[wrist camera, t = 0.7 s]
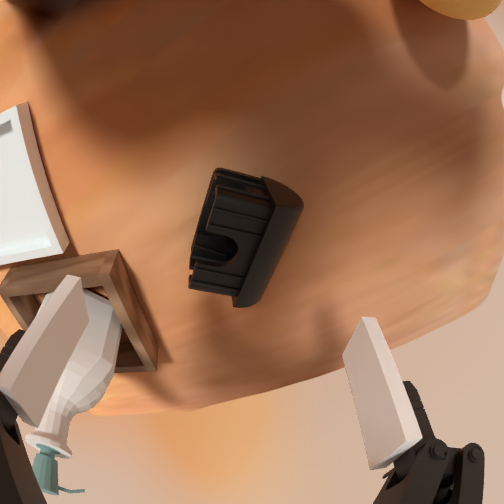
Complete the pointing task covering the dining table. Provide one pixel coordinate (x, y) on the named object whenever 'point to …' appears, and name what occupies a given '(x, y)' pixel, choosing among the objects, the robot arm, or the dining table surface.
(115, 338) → the soap bottle
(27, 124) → the tray
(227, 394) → the dining table surface
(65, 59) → the dining table surface
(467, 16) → the stress ball
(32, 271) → the walnut holder
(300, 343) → the dining table surface
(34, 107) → the dining table surface
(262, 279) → the end cap
